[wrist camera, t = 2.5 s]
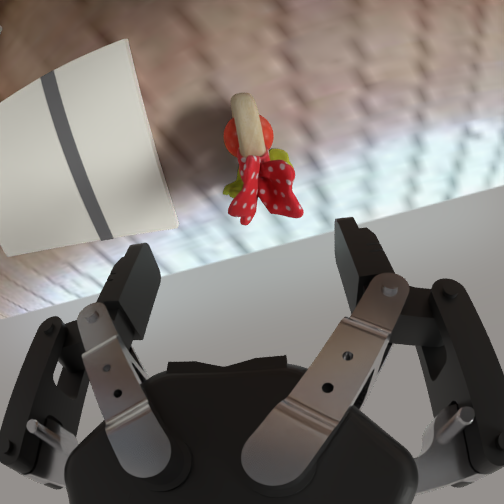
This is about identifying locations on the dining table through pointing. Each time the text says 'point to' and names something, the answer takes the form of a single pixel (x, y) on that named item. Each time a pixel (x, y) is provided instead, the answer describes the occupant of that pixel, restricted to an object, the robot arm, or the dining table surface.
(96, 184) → the mat
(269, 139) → the bird rattle
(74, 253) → the dining table surface
